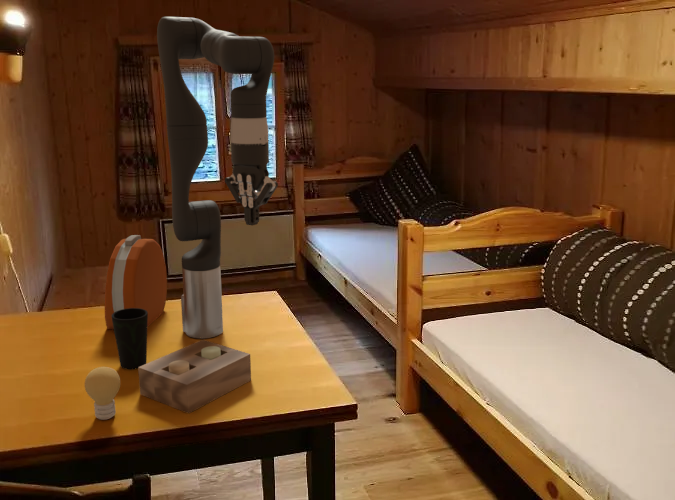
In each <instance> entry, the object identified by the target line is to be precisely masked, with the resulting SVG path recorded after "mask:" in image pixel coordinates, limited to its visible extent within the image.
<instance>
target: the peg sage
mask: <svg viewBox="0 0 675 500" xmlns="http://www.w3.org/2000/svg"><path fill="white" fill-rule="evenodd" d="M201 355H202V357H203V358H206V359H209V360H212V359H215V358H217V357H219V356H221V349H220V348H219V347H216V346H209V347H205V348H203V349H202V350H201Z"/></svg>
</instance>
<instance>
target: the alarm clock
mask: <svg viewBox="0 0 675 500" xmlns="http://www.w3.org/2000/svg"><path fill="white" fill-rule="evenodd" d="M167 275H168V274H167V266H166V260H165V255H164V253H163V250H162V247H161V246H160V244H159V243H158V242H157V241H156V240H155V239H153V238H142V237H141V235H140V234H139V235H138V234H134V235H133V234H132V235H129V236H128V237H126V238H122V239H121V240H120V241H119V242H118V243H117V244H116V245H115V247H114V249H113V251H112V253H111V256H110V258H109V263H108V267H107V271H106V278H105V279H106V280H105V286H104V287H105V289H104V320H105V325H106V328H107V330H114V327H113V322H112V317H111V316H112V314H113V313H114V312H116V311H118V310H122V309H128V308H140V309H144V310H146V311H147V312H148V321H147V328H148V327H149V326H150V325H151V324H152V323H154V322H155V321H156V320H157V319H158V318H159V317H160V316H161V315H163V313H164V311H165V307H166V302H167V294H168V293H167V290H168V276H167Z"/></svg>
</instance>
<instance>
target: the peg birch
mask: <svg viewBox="0 0 675 500" xmlns="http://www.w3.org/2000/svg"><path fill="white" fill-rule="evenodd" d="M187 371H189V362H187V361H184V360H178V361H173V362H171V363H170V364H169V372H170V373H173V374H176V375H180V374H182V373H185V372H187Z"/></svg>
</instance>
